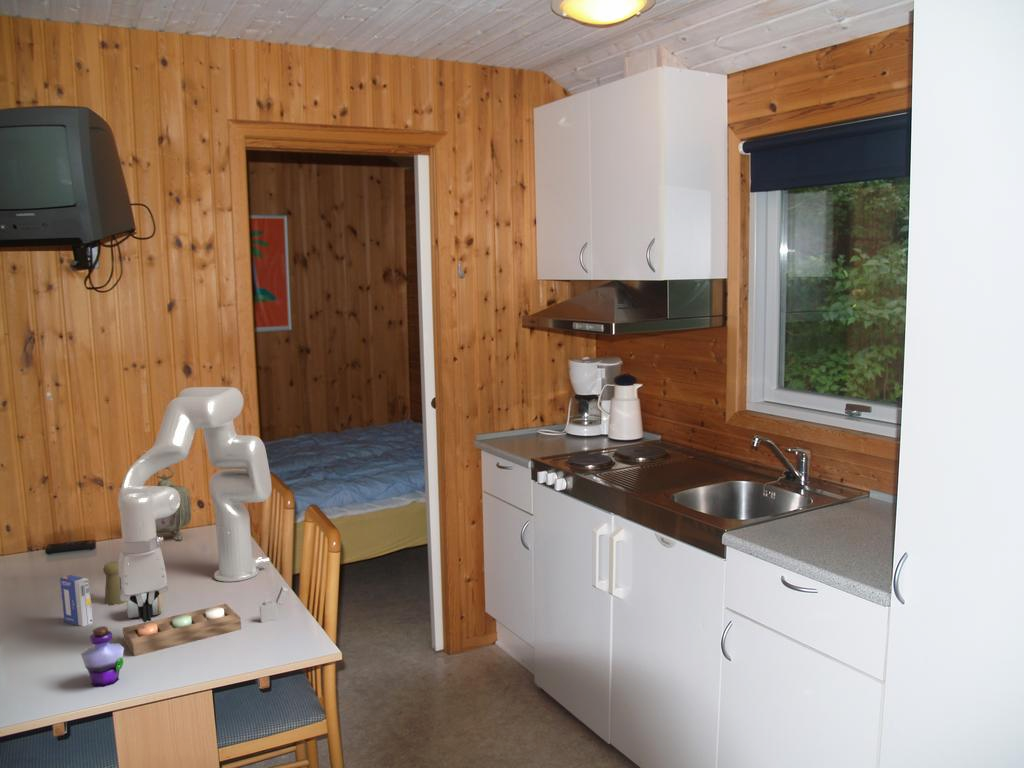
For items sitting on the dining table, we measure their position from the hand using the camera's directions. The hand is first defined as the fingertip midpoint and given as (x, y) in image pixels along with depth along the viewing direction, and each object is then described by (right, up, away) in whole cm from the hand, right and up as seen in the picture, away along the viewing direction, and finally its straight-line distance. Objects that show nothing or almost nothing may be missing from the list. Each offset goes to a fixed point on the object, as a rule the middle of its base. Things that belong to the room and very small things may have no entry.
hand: (146, 619), depth 212 cm
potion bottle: (-1, -9, -19) cm, 21 cm away
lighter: (+27, -4, +13) cm, 31 cm away
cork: (-21, -3, +30) cm, 37 cm away
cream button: (+13, -3, +10) cm, 17 cm away
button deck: (+7, -5, +5) cm, 10 cm away
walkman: (-24, -5, +16) cm, 29 cm away
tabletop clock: (-29, +4, +90) cm, 94 cm away
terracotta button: (0, -4, +1) cm, 4 cm away
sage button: (+7, -3, +5) cm, 9 cm away
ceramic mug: (-8, -4, +20) cm, 23 cm away
